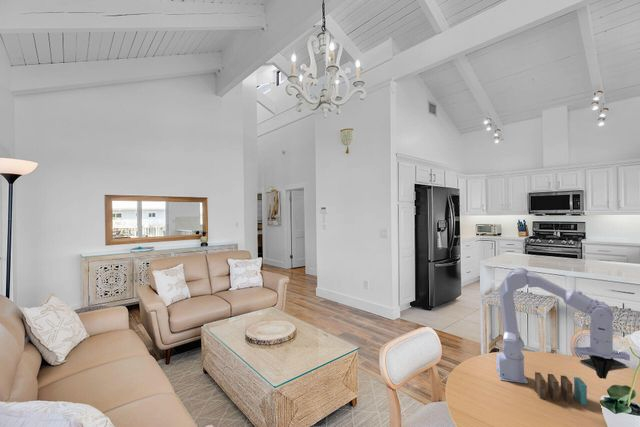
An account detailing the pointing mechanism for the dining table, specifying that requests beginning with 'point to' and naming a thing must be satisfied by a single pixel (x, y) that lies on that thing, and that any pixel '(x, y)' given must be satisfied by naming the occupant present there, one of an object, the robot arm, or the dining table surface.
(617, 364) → the phone
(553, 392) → the domino
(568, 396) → the domino
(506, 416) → the dining table surface
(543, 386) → the domino
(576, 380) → the domino teal placed
